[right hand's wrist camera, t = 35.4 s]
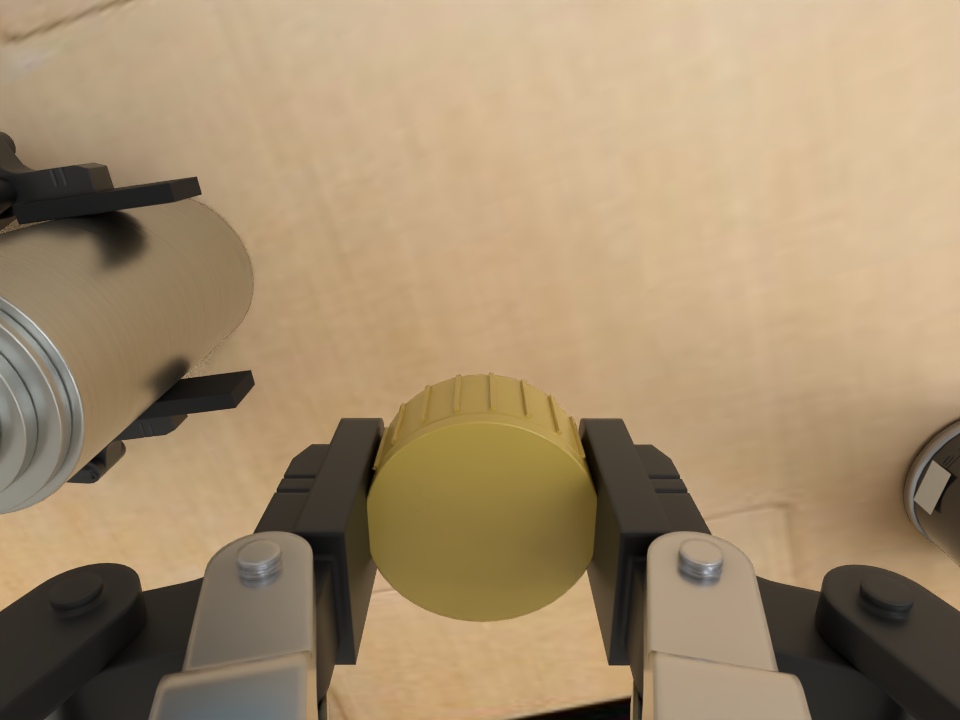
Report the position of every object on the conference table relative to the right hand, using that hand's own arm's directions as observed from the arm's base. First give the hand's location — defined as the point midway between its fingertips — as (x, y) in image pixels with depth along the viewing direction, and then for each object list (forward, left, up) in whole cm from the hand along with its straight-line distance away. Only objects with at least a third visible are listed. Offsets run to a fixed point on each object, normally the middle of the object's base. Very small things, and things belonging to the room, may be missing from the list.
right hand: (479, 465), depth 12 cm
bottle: (+8, +14, -24) cm, 29 cm away
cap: (0, 0, +2) cm, 2 cm away
